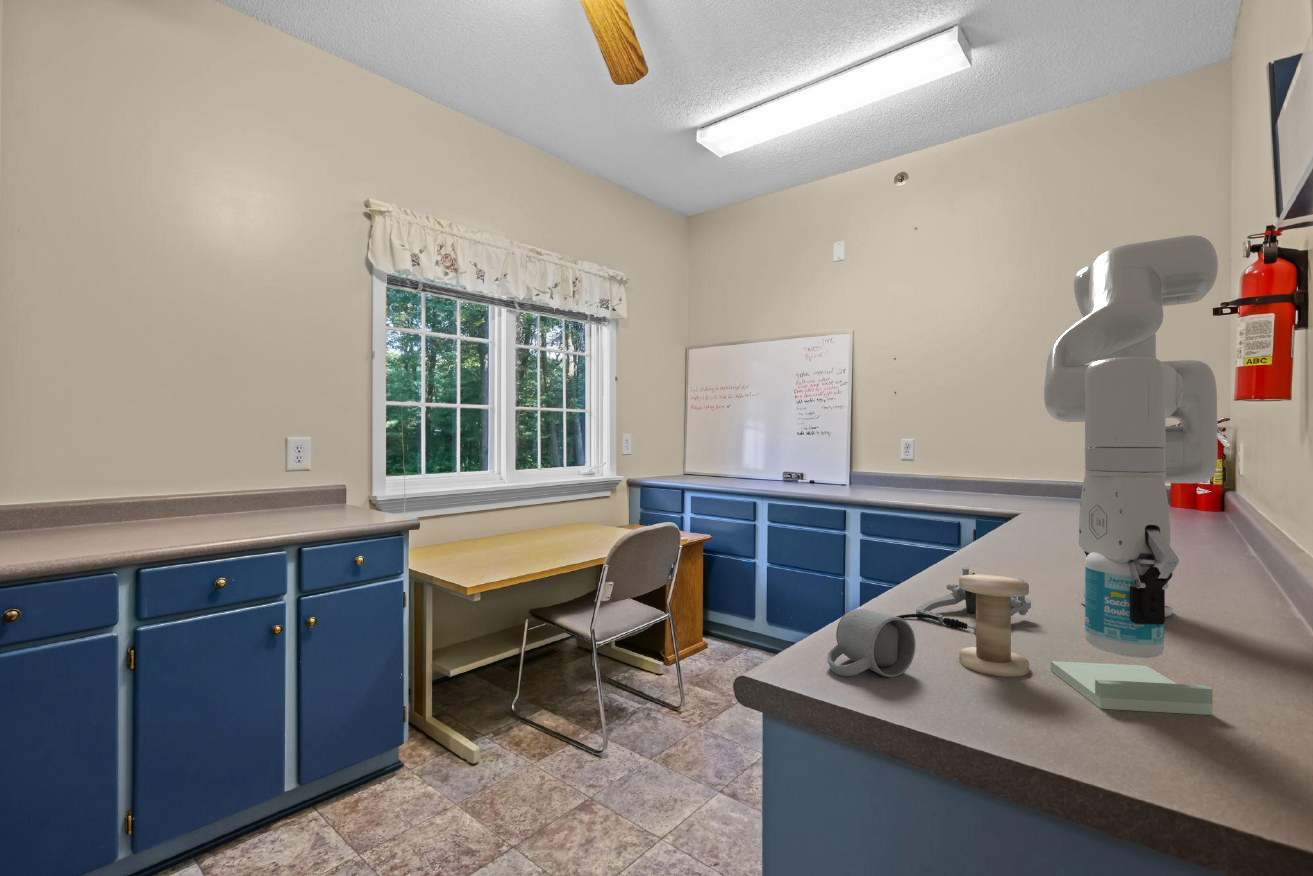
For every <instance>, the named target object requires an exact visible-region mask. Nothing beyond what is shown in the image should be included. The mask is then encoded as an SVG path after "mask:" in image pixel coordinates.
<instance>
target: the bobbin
mask: <svg viewBox="0 0 1313 876" xmlns="http://www.w3.org/2000/svg"><path fill="white" fill-rule="evenodd" d="M1018 579H1019V578H1013V577H1010V576H1009V577H1008V576H1004V575H1003V576H1002V575H993V574H981V573H980V574H977V573H975V574H973V575H970V574H969V575H964V576H963V575H962V576H959V578H958V586H959V587H960V588H962V589H964V590H966V591H969V592H973V593H976V612H975V624H976V634H975V646H969V647H964V648H962V649H960V650H959V653H958V654H959V655H958V656H959V657H958V658H959V662H960V664H961V665H962V666H964V667H965V668H967V669H969V670H972V671H974V672H978V673H981V674H984V675H989V676H995V677H1003V678H1016V677H1022V676H1026V675H1028V674H1029V673H1030V661H1029V660H1028V659H1027V658H1025V657H1024V656H1022V655H1020V654H1018V653H1015V652H1013V651H1012V622H1011V621H1012V616H1011V597H1017V598H1018V597H1020V596H1025V597H1026V596H1027V595H1029V594H1030V593H1029V592H1030V591H1029V590H1030V585H1029V583H1028V582H1026V581H1025V580H1024V581H1021V580H1018Z"/></svg>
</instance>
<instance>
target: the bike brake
mask: <svg viewBox="0 0 1313 876" xmlns="http://www.w3.org/2000/svg"><path fill="white" fill-rule="evenodd" d="M961 571H962V576H964V575H973V574H976V573H975V572H973V573H970V571H969V567H962V570H961ZM1017 579H1018V580H1021V581H1024V582H1025V580H1024V579H1022V578H1017ZM946 590H948V591H951V593H949V594H945V595H943V596H940V597H938V598H935V599H934V598H933V599H932V600H929V601H927V602H925V603H923V604H922V605H920V606H919V607H918V608H916V609H915V613H907V614H900V615H896V616H895V617H900V618H902V619H907V618H919V619H922V620H925V621H929V622H931V623H935V624H938V625H941V624H944V625H945V626H950V627H951V628H955V629H962V630H963V629H964V630H967V629H970V630H971V629H972V630H973V633H974V634H975V635H976V623H974V624H973V626H969V625H968V623H967V622H963V621H961V620H960V621H959V619H955V618H950V617H944V618H943V614H939V613H935V612H933V611H932V610H935V609H938V608H942V607H946V606H947V607H949V606H953V605H957V604H959V603H961V602H962V601H965V611H966V614H967V615H971V614H973V613H976V593H973V592H969V591H966V590H964V589H962V588H960V587H959V584H955V583H954V584H951V583H948V584H947V585H946ZM1031 608H1032V601H1031V599H1030V598H1026V595H1025V596H1020V597H1011V617H1013V616H1014V615H1015V614H1017V613H1018V614H1019V615H1020V616H1026V615H1027V613H1028V612H1029V610H1030V609H1031Z"/></svg>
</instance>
